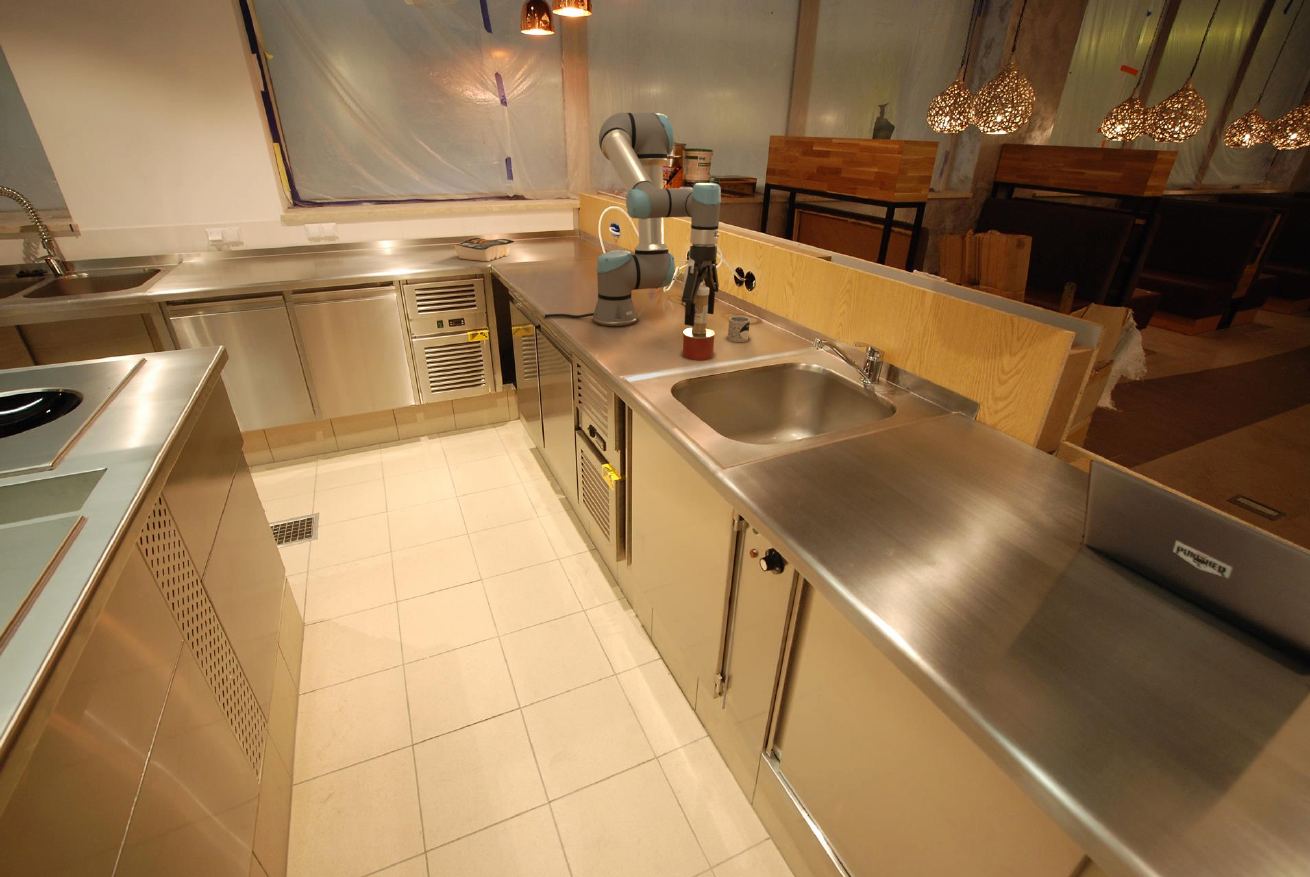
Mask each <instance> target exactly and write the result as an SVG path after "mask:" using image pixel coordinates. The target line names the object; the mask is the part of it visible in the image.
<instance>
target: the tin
mask: <svg viewBox="0 0 1310 877" xmlns="http://www.w3.org/2000/svg"><path fill="white" fill-rule="evenodd" d="M691 330H692V327H689V328H686V329H684V330H683V332H682V333H683V335H682V336H683V338H682V356H683V357H685V358H686V359H689V360H693V361H705V360H710V359H711V358H713V356H714V347H715V346H714V344H715V343H714V342H715V335H716V332H715V331H714V330H712V329H710V328H706V331H707V332H706V333H705V334H694V333H692V331H691Z"/></svg>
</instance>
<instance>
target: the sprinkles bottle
mask: <svg viewBox="0 0 1310 877" xmlns="http://www.w3.org/2000/svg"><path fill="white" fill-rule="evenodd" d="M708 296H709V287H706V285H703V286H699V289H698V292H697V295H696V297H695V300H694V303H695V320H694V326H691V328H692V330H691V331H692V333H694V334H705V333H706V332H707V331H706V329H707V323H708V314H707V313H708Z"/></svg>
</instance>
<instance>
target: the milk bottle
mask: <svg viewBox="0 0 1310 877" xmlns="http://www.w3.org/2000/svg"><path fill="white" fill-rule="evenodd" d="M689 266H694V260H693V259H691V258H690V250H689V251H688V261H687V264H686V266H685V268H684V272H683V282H682V283H683V284H682V293H683V292H684V288H685V283H686V279H687V275H688V267H689ZM700 286H704V280H703V282H701V283H700ZM685 304H686V303H685V302H682V305H683V306H685Z"/></svg>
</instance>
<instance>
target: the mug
mask: <svg viewBox="0 0 1310 877" xmlns="http://www.w3.org/2000/svg"><path fill="white" fill-rule="evenodd" d="M750 324H751V319H750V318H749V317H746V316H743V315H735V316H730V317H729V318H728V330H727V340H728V341H729V342H734V343H745V342H748V341H749V334H750Z"/></svg>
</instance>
